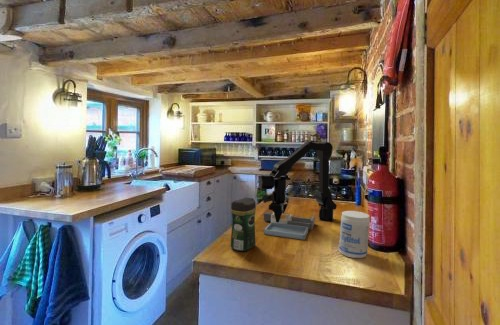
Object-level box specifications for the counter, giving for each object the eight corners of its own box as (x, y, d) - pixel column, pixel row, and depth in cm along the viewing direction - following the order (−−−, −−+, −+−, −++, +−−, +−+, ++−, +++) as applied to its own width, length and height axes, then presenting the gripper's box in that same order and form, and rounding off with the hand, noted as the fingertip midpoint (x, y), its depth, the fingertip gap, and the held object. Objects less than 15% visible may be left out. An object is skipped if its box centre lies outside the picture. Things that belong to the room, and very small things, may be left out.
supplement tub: (337, 256, 96) (340, 215, 95) (339, 246, 105) (341, 209, 103) (367, 261, 92) (370, 219, 91) (367, 250, 101) (369, 212, 100)
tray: (308, 231, 121) (308, 226, 121) (304, 240, 111) (304, 235, 110) (270, 226, 127) (270, 222, 127) (263, 234, 116) (264, 229, 116)
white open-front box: (291, 222, 134) (291, 214, 134) (289, 225, 128) (289, 217, 128) (266, 219, 138) (266, 211, 138) (262, 222, 133) (263, 214, 132)
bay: (314, 224, 132) (314, 216, 131) (312, 229, 123) (312, 221, 123) (290, 221, 136) (291, 213, 135) (287, 226, 127) (287, 218, 127)
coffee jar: (240, 240, 108) (241, 195, 107) (258, 245, 104) (259, 197, 102) (226, 249, 100) (227, 199, 98) (244, 254, 96) (245, 202, 94)
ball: (285, 222, 134) (286, 215, 134) (284, 222, 130) (285, 215, 131) (278, 220, 135) (279, 213, 135) (277, 220, 131) (278, 213, 132)
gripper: (269, 184, 143) (268, 213, 144) (258, 190, 125) (257, 223, 127) (290, 186, 139) (289, 216, 141) (281, 193, 122) (280, 226, 123)
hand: (279, 220), depth 133 cm, fingers closed on white open-front box, 6 cm apart
